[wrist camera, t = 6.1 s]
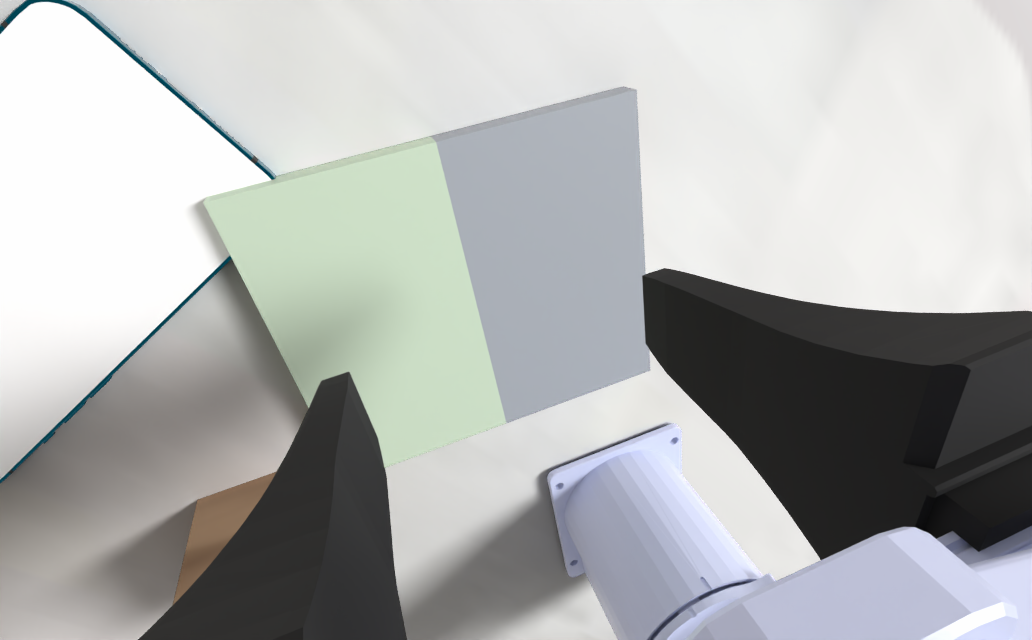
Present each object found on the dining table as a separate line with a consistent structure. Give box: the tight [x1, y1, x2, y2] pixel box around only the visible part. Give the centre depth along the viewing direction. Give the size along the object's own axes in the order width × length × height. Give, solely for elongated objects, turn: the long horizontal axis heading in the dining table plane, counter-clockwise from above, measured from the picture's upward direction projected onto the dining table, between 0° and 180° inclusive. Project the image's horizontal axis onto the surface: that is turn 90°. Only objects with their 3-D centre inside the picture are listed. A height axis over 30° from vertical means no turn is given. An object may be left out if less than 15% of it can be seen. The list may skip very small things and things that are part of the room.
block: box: [173, 472, 276, 605], centre depth 22 cm, size 4×4×6 cm
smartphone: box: [0, 0, 276, 483], centre depth 17 cm, size 8×1×16 cm
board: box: [203, 87, 650, 468], centre depth 22 cm, size 13×15×1 cm
